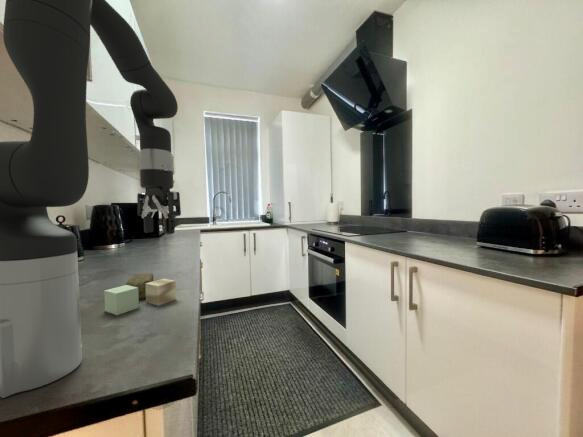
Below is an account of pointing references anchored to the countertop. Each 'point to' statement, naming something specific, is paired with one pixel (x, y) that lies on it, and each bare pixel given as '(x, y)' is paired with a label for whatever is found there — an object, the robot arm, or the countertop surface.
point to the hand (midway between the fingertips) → (159, 233)
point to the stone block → (140, 283)
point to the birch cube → (160, 291)
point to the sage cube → (121, 299)
